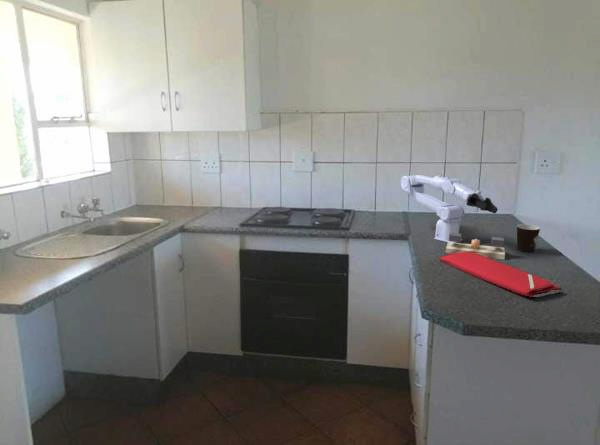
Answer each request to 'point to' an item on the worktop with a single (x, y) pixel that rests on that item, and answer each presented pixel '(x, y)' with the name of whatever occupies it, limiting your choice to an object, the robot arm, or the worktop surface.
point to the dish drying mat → (499, 273)
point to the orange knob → (475, 244)
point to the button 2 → (497, 241)
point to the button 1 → (455, 237)
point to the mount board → (476, 250)
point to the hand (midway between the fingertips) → (491, 209)
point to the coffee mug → (527, 237)
